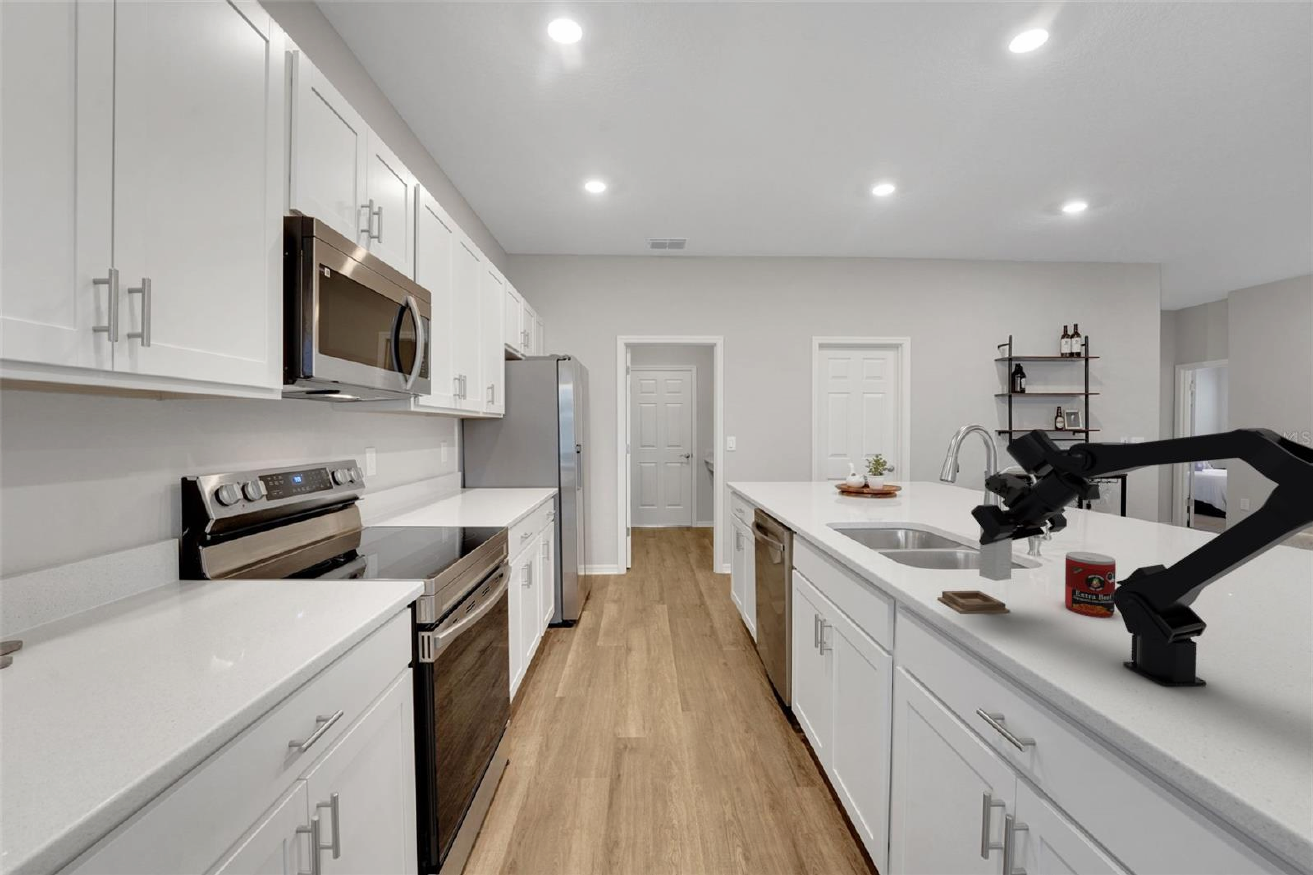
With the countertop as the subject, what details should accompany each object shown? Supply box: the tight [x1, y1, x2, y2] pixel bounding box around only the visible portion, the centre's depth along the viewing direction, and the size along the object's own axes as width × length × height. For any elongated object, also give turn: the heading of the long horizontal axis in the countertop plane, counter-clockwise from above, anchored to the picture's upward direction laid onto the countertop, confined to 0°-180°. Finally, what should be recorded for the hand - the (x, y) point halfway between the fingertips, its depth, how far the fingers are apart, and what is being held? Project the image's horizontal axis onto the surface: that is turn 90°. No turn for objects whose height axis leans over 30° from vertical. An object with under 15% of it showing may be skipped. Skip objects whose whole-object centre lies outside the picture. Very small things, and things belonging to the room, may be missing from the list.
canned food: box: [1064, 551, 1117, 618], centre depth 102 cm, size 8×8×11 cm
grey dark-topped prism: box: [979, 525, 1013, 582], centre depth 101 cm, size 4×4×13 cm
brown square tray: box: [937, 590, 1011, 614], centre depth 105 cm, size 8×10×2 cm
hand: (988, 542), depth 102 cm, fingers closed on grey dark-topped prism, 4 cm apart
